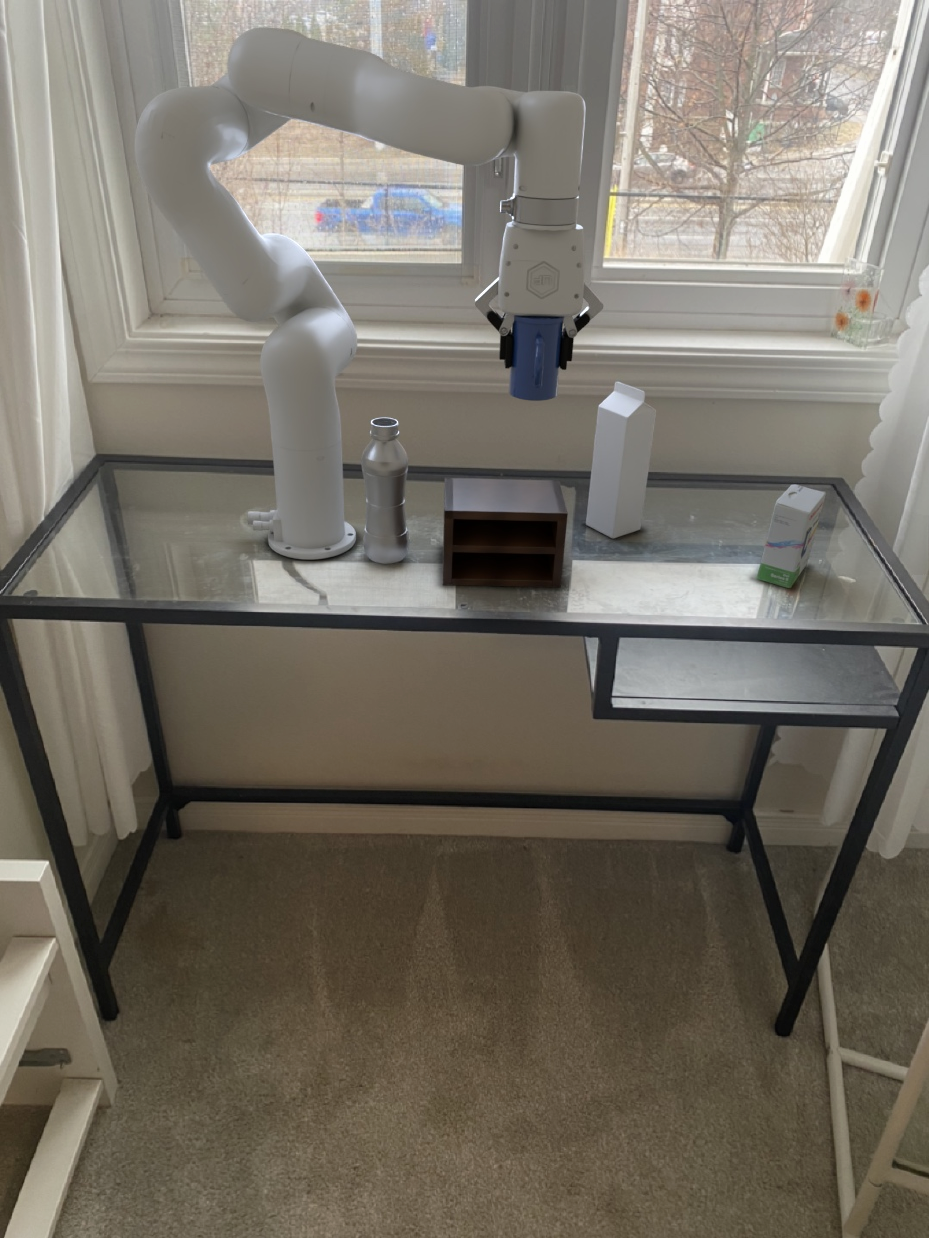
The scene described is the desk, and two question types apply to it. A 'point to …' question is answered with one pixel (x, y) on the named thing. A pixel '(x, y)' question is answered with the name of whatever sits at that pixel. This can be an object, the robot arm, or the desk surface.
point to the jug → (535, 357)
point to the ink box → (791, 535)
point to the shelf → (503, 532)
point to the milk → (620, 462)
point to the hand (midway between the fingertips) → (535, 365)
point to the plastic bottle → (385, 493)
